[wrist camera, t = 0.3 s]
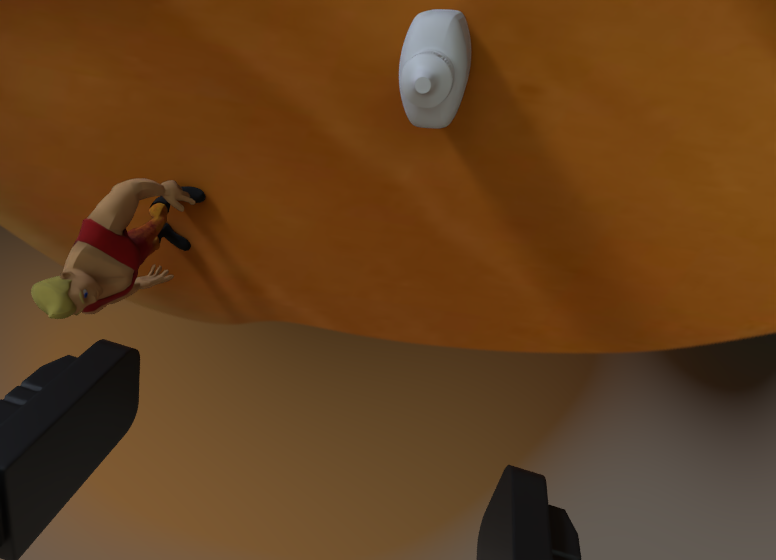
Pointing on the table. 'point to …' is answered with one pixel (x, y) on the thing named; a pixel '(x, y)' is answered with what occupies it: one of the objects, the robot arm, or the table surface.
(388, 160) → the table surface
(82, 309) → the action figure
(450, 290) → the table surface
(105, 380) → the robot arm
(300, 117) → the table surface
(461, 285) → the table surface
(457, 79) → the eye dropper bottle
